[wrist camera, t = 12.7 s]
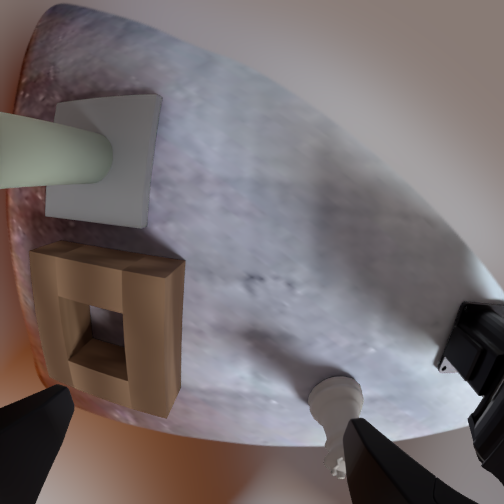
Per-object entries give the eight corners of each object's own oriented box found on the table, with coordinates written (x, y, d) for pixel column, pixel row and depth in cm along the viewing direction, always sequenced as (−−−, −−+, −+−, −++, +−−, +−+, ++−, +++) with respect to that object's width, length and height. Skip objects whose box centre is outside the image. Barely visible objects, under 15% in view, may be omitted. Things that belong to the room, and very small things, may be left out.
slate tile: (162, 97, 18) (157, 94, 17) (146, 226, 20) (141, 228, 19) (64, 105, 18) (57, 103, 17) (52, 214, 20) (45, 216, 19)
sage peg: (120, 143, 18) (-22, 115, 6) (100, 191, 18) (-44, 208, 7) (85, 127, 18) (-50, 99, 6) (66, 172, 18) (-70, 177, 7)
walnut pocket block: (185, 260, 20) (165, 278, 16) (180, 387, 23) (166, 418, 19) (61, 240, 21) (29, 250, 17) (72, 355, 23) (49, 377, 19)
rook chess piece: (304, 378, 22) (312, 456, 14) (360, 367, 21) (388, 439, 13) (310, 417, 22) (317, 490, 15) (361, 407, 22) (382, 476, 14)
